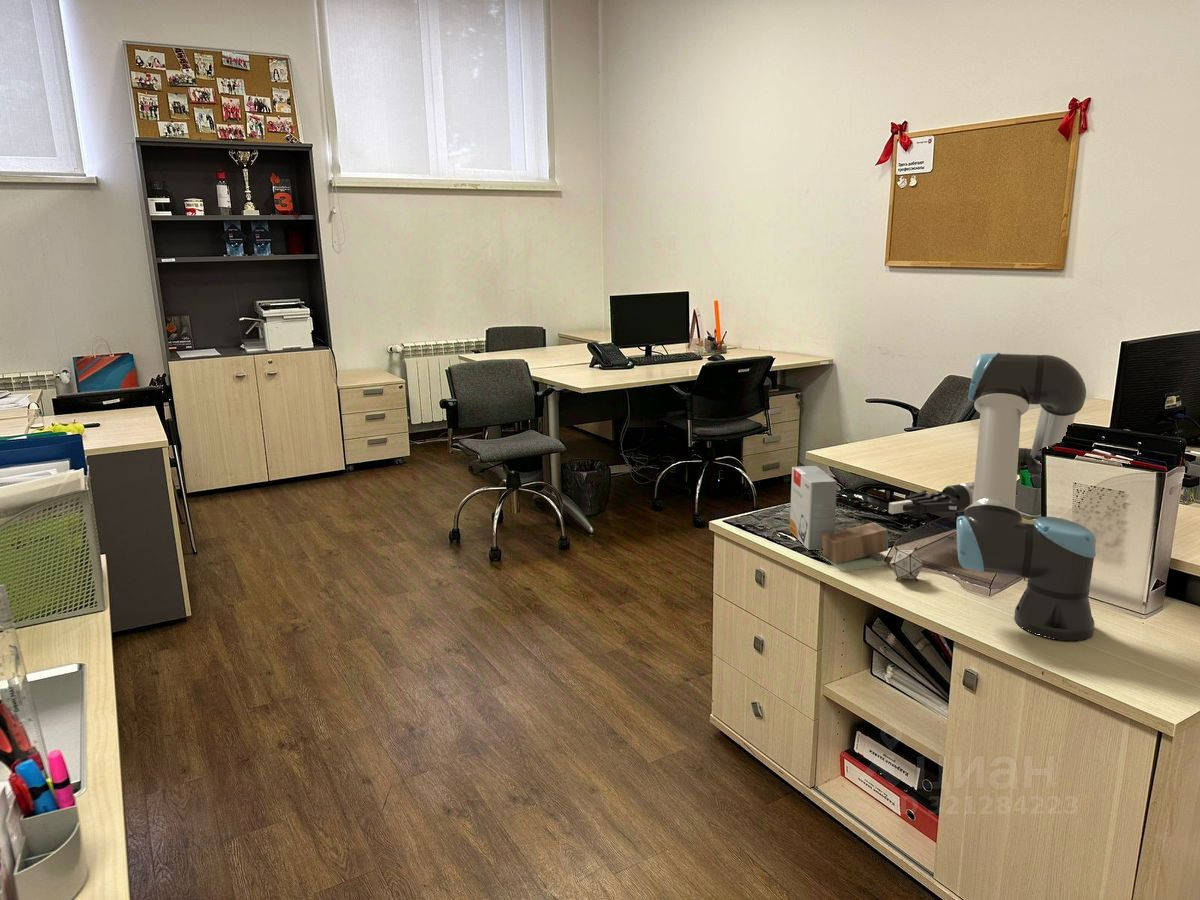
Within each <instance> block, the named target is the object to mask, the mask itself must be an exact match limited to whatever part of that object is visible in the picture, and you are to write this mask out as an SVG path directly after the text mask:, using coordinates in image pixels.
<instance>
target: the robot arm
mask: <svg viewBox="0 0 1200 900" xmlns="http://www.w3.org/2000/svg"><path fill="white" fill-rule="evenodd" d="M971 375H972V376H971V380H970V381H971V382H970V385H969V389H968V395H967V396H968V400H969V401H970V402H973V403H974V404H973V407H974V409H975V410H976V411H977V412H978V413H979V427H978V436H977V449H976V462H975V473H974V481H973V482H965V483H964V482H963V483H959V484H953V485H952V484H951V485H947V486H945V487H944V488H943V489H942V491H936V492H933V493H929V492H928V490H922V491H920V492H917V493H913V494H910V495H907V496H904V500H899V501H892V502H888V513H889V514H891V515H894V514H900V513H901V514H902V513H907V512H912V511H913V512H919V513H920V514H933V513H934V514H937V513H951V514H955V513H961V512H963V515H959V516H957V518H956V550H957V559H958V563H959V565H960V566H961V568H963V569H966V570H970V571H974V572H975V571H976V572H978V573H980V574H981V573H990V574H997V575H1004V576H1011V577H1021V578H1026V579H1027V584H1026V588H1025V590H1024V592H1023V593H1022V595H1021V597H1020V599H1019V601H1018V603H1017V605H1016V606H1015V610H1014V616H1013V620H1014V623H1016V624H1017V626H1019V625H1020V626H1021V627H1023V628H1024V629H1026V630H1029V631H1031V632H1033V633H1036V634H1040V635H1042V636H1046V637H1050V638H1054V639H1059V640H1058V641H1061V640H1070V641H1069V642H1076V641H1075V640H1080V641H1085V640H1088V639H1090V638H1091V637H1093V634H1094V632H1095V620H1094V617H1093V615H1092V609H1091V603H1090V599H1089V597H1090V591H1091V590H1090V588H1091V581H1092V575H1093V568H1094V561H1095V557H1096V555H1097V553H1096V543H1097V541H1096V540H1097V539H1096V536H1095V534H1094V532H1092V531H1091V529H1089V528H1088V527H1085V526H1084V525H1082V524H1081V523H1080V524H1079V523H1077V522H1075V521H1071V520H1068V519H1064V518H1061V517H1055V516H1039V517H1037V518H1035V520H1034V521H1033V523H1025V522H1023V514H1022V513H1021V511H1019V510H1018V509H1017V508H1016V495H1017V494H1016V493H1017V479H1018V476H1021V475H1020V469H1021V461H1026V462H1027V467H1028V471H1029V473H1030V475H1032V476H1031V477H1034V476H1040V473H1041V463H1040V461H1038V460H1036V459H1034V457H1035V455H1036V454H1037V452H1038V451H1039V450H1040V449H1042V448H1044V447H1046V446H1050V445H1053V444H1055V443H1060V442H1061V441H1062V439H1063V437H1064V436H1065V435H1066V432H1067V427H1068V425H1071V424H1074V420H1075V418H1076V415H1077V413H1078V412H1080V411H1081V410H1082V409H1083V407H1084V404H1085V401H1086V397H1087V388H1086V383H1085V381H1084V379H1083V377H1082V375H1081V373H1080V372H1079V371H1078V370H1077V369H1076V367H1074V366H1073V365H1072V364H1071V363H1069V362H1068V361H1067V360H1064V359H1063V358H1062V357H1059V356H1054V355H1050V354H1021V353H1019V354H1018V353H1017V354H1016V353H1012V354H1011V353H1001V352H996V353H983V354H980V355H979V356H978V357H977V358H976V360H975V363H974V367H973V371H972V374H971ZM1030 405H1039V406H1040V411H1039V416H1038V420H1037V425H1036V428H1035V429H1036V430H1035V433H1034V438H1033V443H1032V447H1031V448H1026V447H1020V436H1021V434H1020V433H1021V419H1022V415H1024V414H1026V413H1027V412H1028V410H1029V408H1030ZM1020 626H1019V627H1020ZM1021 627H1020V628H1021ZM1023 628H1022V629H1023ZM1024 629H1023V630H1024ZM1026 630H1025V631H1026ZM1033 633H1032V634H1033ZM1054 639H1053V640H1054ZM1084 639H1085V640H1084Z"/></svg>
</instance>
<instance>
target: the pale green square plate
mask: <svg viewBox="0 0 1200 900" xmlns="http://www.w3.org/2000/svg"><path fill="white" fill-rule="evenodd" d="M816 552H817V551H816ZM818 552H820V553H821V552H822V553H821V555H822V554H823V550H819V551H818ZM818 555H819V554H818ZM822 557H823V555H822ZM882 557H883V556H882V555H879V553H876V554H873V555H869V556H865V557H861V558H858V559H854V560H850V561H847V562H843V563H839V564H834V563H833V562H831V561H830V560H828V559H826V558H825V557H823V558H824V559H826V560H827V561H829V562H830V563H831V564H830V563H829V562H828V563H829V564H830V565H832V564H833V565H834V566H833V567H835V568H837V569H839V570H840V571H842V573H848V572H853V571H858V570H865V569H871V568H877V567H883V566H888V565H887V564H886V563H887V562H886V561H884V560H882ZM824 559H823V560H824ZM827 561H826V562H827ZM847 571H848V572H847Z"/></svg>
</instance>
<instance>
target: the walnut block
mask: <svg viewBox="0 0 1200 900" xmlns="http://www.w3.org/2000/svg"><path fill="white" fill-rule="evenodd" d="M888 531H889V530H888V528H886V527H884V526H882V525H879V524H878V523H876V522H869V523H865V524H862V525H858V526H853V527H849V528H847V529H843V530H837V531H834V533H830V534H826V535H822V549H823V557H825V558H826V559H828V560H830V561H831V562H833V563H834V564H839V563H843V562H847V561H850V560H854V559H858V558H861V557H865V556H869V555H873V554H880V553H883V552H887V551H889V535H888V533H889V532H888Z"/></svg>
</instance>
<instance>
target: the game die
mask: <svg viewBox="0 0 1200 900" xmlns="http://www.w3.org/2000/svg"><path fill="white" fill-rule="evenodd" d="M894 549H895V552H894V553H893V556H892V557H891V560H890V562H886V564H887V565H886V566H889V567H890V568H891V569H892V571H893V573H894V575H895V576H896V579H895V581H896V582H898V580H899V579H906V580H907V579H910V580H911V579H914V581H916V582H919V579H918V578H917V577H918V576H919V574H920V572H921V570H922V569H923V566H924V567H926V566H928V564H927V563H923V561H922V559H921V557H920V556H919V554H918V552H917V550H918V547H917V546H916V547H914V548H913V549H898V547H896V546H894Z"/></svg>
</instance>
